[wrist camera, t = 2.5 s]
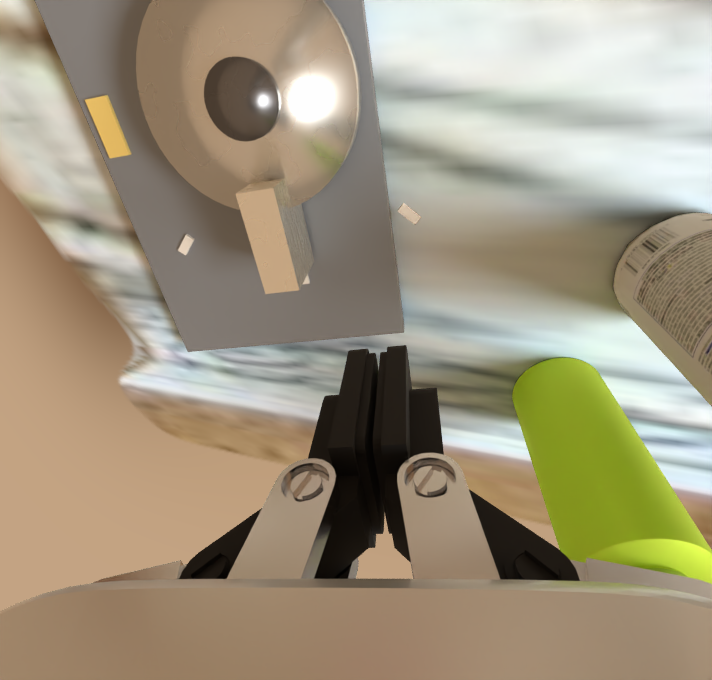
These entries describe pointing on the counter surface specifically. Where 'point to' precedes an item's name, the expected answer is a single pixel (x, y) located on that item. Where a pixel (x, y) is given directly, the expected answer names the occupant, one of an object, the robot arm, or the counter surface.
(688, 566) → the soap dispenser
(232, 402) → the counter surface
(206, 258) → the board
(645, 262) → the spray can
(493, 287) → the counter surface
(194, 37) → the dial
